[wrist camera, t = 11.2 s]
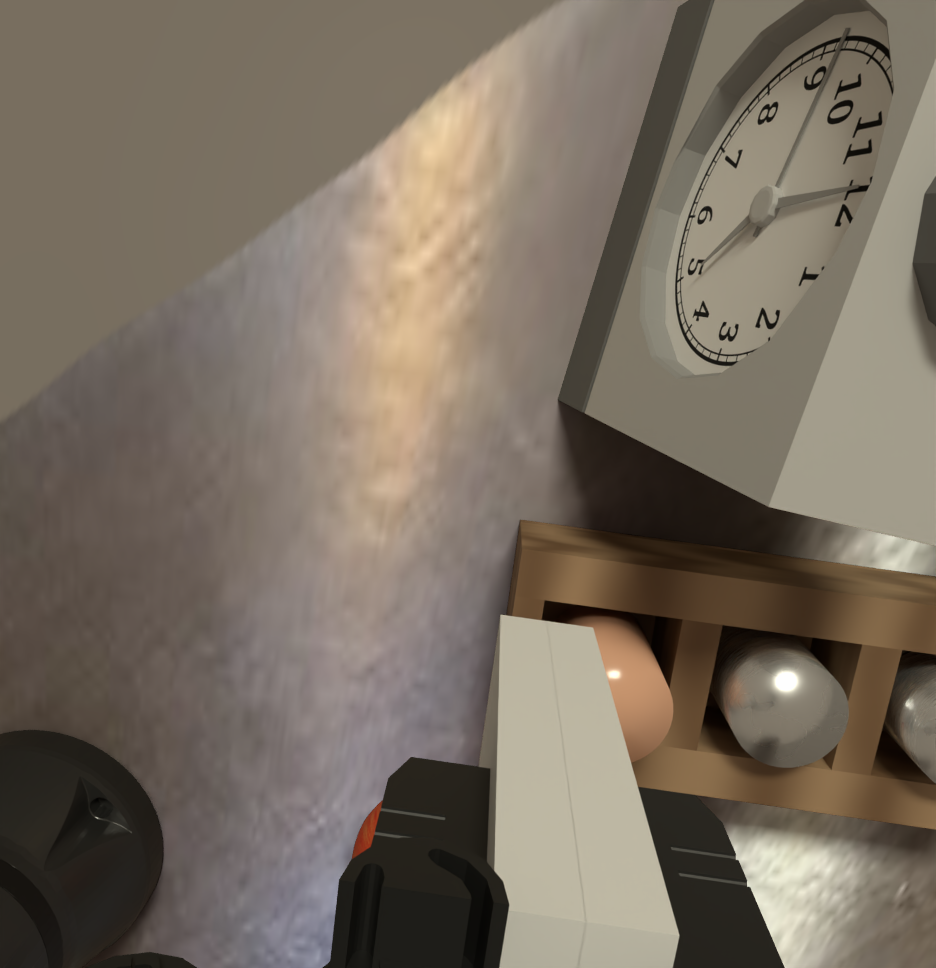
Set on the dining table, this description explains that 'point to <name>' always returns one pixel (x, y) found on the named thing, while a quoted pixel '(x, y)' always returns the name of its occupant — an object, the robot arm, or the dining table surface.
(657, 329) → the alarm clock
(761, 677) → the plug mid
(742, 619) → the divided box
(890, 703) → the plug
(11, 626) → the dining table surface
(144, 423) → the dining table surface
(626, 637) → the plug terracotta
